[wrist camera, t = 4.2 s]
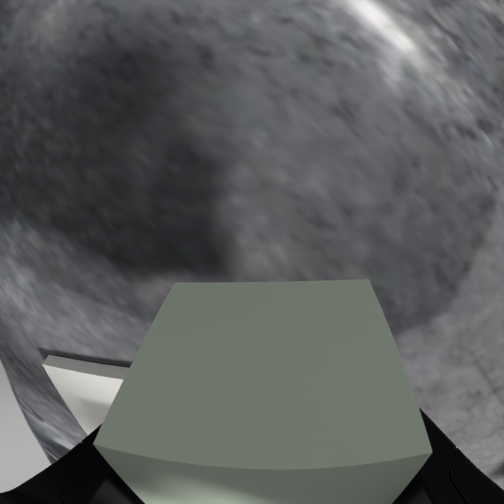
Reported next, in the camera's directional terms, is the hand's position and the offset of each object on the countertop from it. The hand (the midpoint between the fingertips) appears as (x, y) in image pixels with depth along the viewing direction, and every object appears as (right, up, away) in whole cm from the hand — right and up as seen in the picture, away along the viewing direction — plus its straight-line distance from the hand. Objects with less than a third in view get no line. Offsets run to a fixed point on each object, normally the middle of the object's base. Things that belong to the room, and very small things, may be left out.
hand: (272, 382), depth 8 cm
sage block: (0, 0, +1) cm, 1 cm away
